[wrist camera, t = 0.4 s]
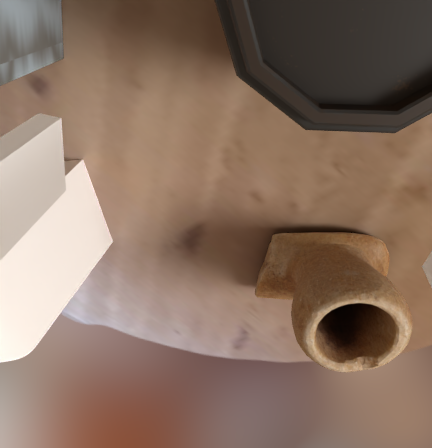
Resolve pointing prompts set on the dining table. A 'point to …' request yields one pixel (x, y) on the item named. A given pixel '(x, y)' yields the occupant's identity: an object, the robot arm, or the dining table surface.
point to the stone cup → (338, 297)
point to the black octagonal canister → (335, 59)
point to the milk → (50, 264)
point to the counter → (29, 36)
